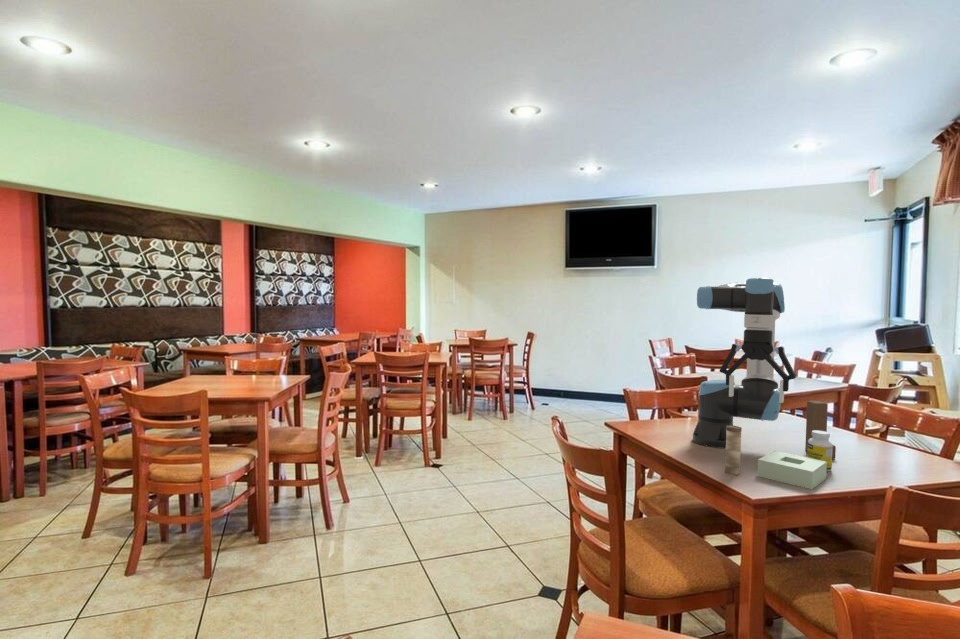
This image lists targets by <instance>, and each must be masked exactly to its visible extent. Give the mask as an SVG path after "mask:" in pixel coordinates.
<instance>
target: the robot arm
mask: <svg viewBox="0 0 960 639" xmlns="http://www.w3.org/2000/svg"><path fill="white" fill-rule="evenodd" d="M783 289H784V288H783V286H782V285H781V283H779V282H775V281H774V279H773V278H771V277H770V278H769V277H751V278H750V277H749V278H747V279H746V281H745V282H730V283H726V284H720V285H717V286H710V285H708V286H707V285H706V286H699V287H698V288H697V290H696V291H697V292H696V307H697V308H699V309H705V310H724V311H729V312H735V313H739V312H740V313H744V314H743V315H744V316H743V317H744V318H743V320H744V321H743V327H744V328H746V329H744V330H743V343H742V344H738V343H733V344H732V345H731V347H730V348H731V349H730V351H729V353H728V355H727V357H726V358H725V360H724V362H723V363H722V365H721V367H720V368H719V373H723V374H724V375H725V379H712V380H705V381H702V382H701V383H700V385H699V391H698V417H697V418H698V419H697V423H696V425H695V428H694V430H693V433H692V441H693V442H694V443H695V444H698V445H700V446H701V445H702V446H705V447H710V448H717V449H718V448H719V449H726V426H729V425H731V426H734V418H741V419H749V420H750V419H751V420H759V421H762V422H764V421H768V422H769V421H770V422H773V421H776V420H777V419H779V414H780V410H781V404H783V403H784V402H785V392H788V391H789V384H790V383H789V381H790V380H795V379H796V378H797V374H796V373H795V370H794V369H793V367H792V365H791V363H790V361H789V359H788V357H787V356H786V354H785V353H786V351H785V347H784V346H783V345H781V346H775V343H776V342H775V341H776V340H775V338H776V337H775V335H776V320H778V319H780V317H781V314H782V313H785V310H786V308H785V296H784V290H783ZM740 350H742V352H743V353H744V354H743V355H742V356H741V357H740V358H739V359H738V360H737V361H736V362H735V363H734V364H733V365H732V366H731V367H730V368H729V366H730V364H731V363H732V361H733V360H734V358H735V356H736V354H737V352H740ZM775 353H776V354H777V355H778V356H779V357H778V358H780V361H781V363H782V365H783V367H784V368H785V370H786V372H785V371H784V369H783V368H782V367H781V366H780V365H779V364H778V363H777V362H776V361H775ZM744 362H746V376H745V377H744V378H742V379H741V381H740V382H741V383H740V384H735V374H733V373H734V372H735V371H736V370H737V369H738V368H739V367H740V366H741V365H743V363H744ZM774 371H776V374H778V375H779V377H780V378H781V379H780V380H779V382H778V381H776V380H775V379H774V373H775V372H774Z"/></svg>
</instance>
